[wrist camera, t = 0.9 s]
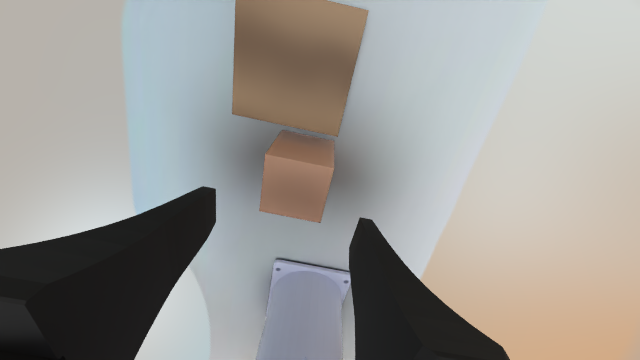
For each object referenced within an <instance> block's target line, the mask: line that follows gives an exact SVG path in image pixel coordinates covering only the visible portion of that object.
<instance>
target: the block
mask: <svg viewBox="0 0 640 360" xmlns="http://www.w3.org/2000/svg"><path fill="white" fill-rule="evenodd" d="M333 171H334V141H332V140H327V139H322V138H318V137H313V136H308V135H304V134H299V133H294V132H289V131H285V130H282V131H281V132H280V134H279V135H278V137H277V138H276V139H275V141H274V142H273V144H272V145H271V147H270V148H269V149H268V151H267V152H266V154H265V161H264V171H263V181H262V191H261V201H260V210H259V211H262V212H267V213H272V214H277V215H282V216H287V217H293V218H298V219H303V220H308V221H313V222H318V223H320V222H321V218H322V214H323V210H324V206H325V203H326V199H327V195H328V191H329V187H330V183H331V179H332V175H333Z"/></svg>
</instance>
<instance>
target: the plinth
mask: <svg viewBox="0 0 640 360" xmlns="http://www.w3.org/2000/svg"><path fill="white" fill-rule="evenodd" d="M367 15H368V10H364V9H360V8H356V7H352V6H348V5H343V4H339V3H335V2H331V1H327V0H236V4H235V38H234V73H233V107H232V114H234V115H239V116H243V117H248V118H253V119H257V120H262V121H267V122H271V123H276V124H281V125H285V126H290V127H295V128H300V129H304V130H309V131H314V132H318V133H323V134H328V135H332V136H337V137H338V133H339V129H340V125H341V121H342V117H343V113H344V109H345V105H346V100H347V96H348V92H349V88H350V84H351V80H352V76H353V72H354V68H355V64H356V60H357V56H358V52H359V48H360V44H361V39H362V35H363V31H364V27H365V23H366V19H367Z"/></svg>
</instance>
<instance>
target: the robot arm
mask: <svg viewBox="0 0 640 360" xmlns="http://www.w3.org/2000/svg"><path fill="white" fill-rule="evenodd" d="M215 223H216V189H214V188H209V187H204V186H203V187H200V188H198V189H196V190H193V191H191V192H189V193H187V194H185V195H183V196H180V197H178V198H176V199H174V200H172V201H170V202H167V203H165V204H163V205H161V206H158V207H156V208H153V209H151V210H148V211H146V212H143V213H141V214H139V215H136V216H133V217H130V218H128V219H125V220H122V221H119V222H116V223H113V224H109V225H106V226H103V227H99V228H95V229H92V230H88V231H85V232H81V233H77V234H73V235H70V236H65V237H61V238H56V239H52V240H47V241H42V242H38V243H32V244H27V245H22V246H16V247H10V248H4V249H0V360H134V359H135V357H136V355H137V353H138V351H139V349H140V347H141V345H142V343H143V341H144V339H145V337H146V335H147V333H148V331H149V329H150V328H151V326H152V324H153V322H154V320H155V319H156V317H157V315H158V313H159V311H160V309H161V308H162V306H163V304H164V302H165V301H166V299H167V297H168V296H169V294H170V292H171V290H172V289H173V287H174V285H175V284H176V282H177V281H178V279H179V278H180V276H181V275H182V274H183V272H184V271H185V269H186V268H187V267H188V265H189V264H190V262H191V261H192V260H193V258H194V257H195V256H196V254H197V253H198V251H199V250H200V248H201V247H202V246H203V244H204V243H205V241H206V240H207V238H208V236H209V234H210V233H211V231H212V229H213V227H214V225H215ZM349 270H350V273H349V272H344V271H338V270H333V269H328V268H322V267H317V266H312V265H306V264H301V263H295V262H290V261H285V260H276V261H275V262H274V266H273V273H272V279H271V285H270V292H269V298H268V305H267V311H266V321H265V325H264V329H263V333H262V336H261V340H260V344H259V348H258V352H257V356H256V360H343V343H342V311H341V307H342V304H343V301H344V299H345V296H346V294H347V291H348V289H349V286H350V284H351V288H352V296H353V305H354V315H355V360H510V359H509V357H508V356H507V354H506V352H505V351H504V349H503V347H502V346H500V345H499V344H498V343H496V342H495V341H493V340H492V339H490V338H489V337H487V336H486V335H485V334H483V333H482V332H480V331H479V330H478V329H476V328H475V327H473V326H472V325H471V324H469V323H468V322H467V321H466V320H464V319H463V318H462V317H460V316H459V315H458V314H457V313H455V312H454V311H453V310H452V309H451V308H449V307H448V306H447V305H446V304H445V303H443V302H442V301H441V300H440V299H439V298H438V297H437V296H436V295H434V294H433V293H432V292H431V291H430V290H429V289H428V288H427V287H426V286H425V285H424V284H423V283H422V282H421V281H420V280H419V279H418V278H417V277H416V276H415V275H414V274H413V273H412V272H411V270H410V269H409V268H408V267H407V266H406V265H405V264H404V262H403V261H402V260H401V259H400V258H399V256H398V255H397V254H396V253H395V251H394V250H393V249H392V247H391V246H390V245H389V243H388V242H387V241H386V239H385V238H384V236H383V235H382V234H381V232H380V231H379V229H378V228H377V226H376V225H375V223H374V222H373V221H372V220H371V219H366V218H361V217H360V218H359V221H358V224H357V227H356V230H355V233H354V236H353V238H352V241H351V244H350V247H349Z"/></svg>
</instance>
